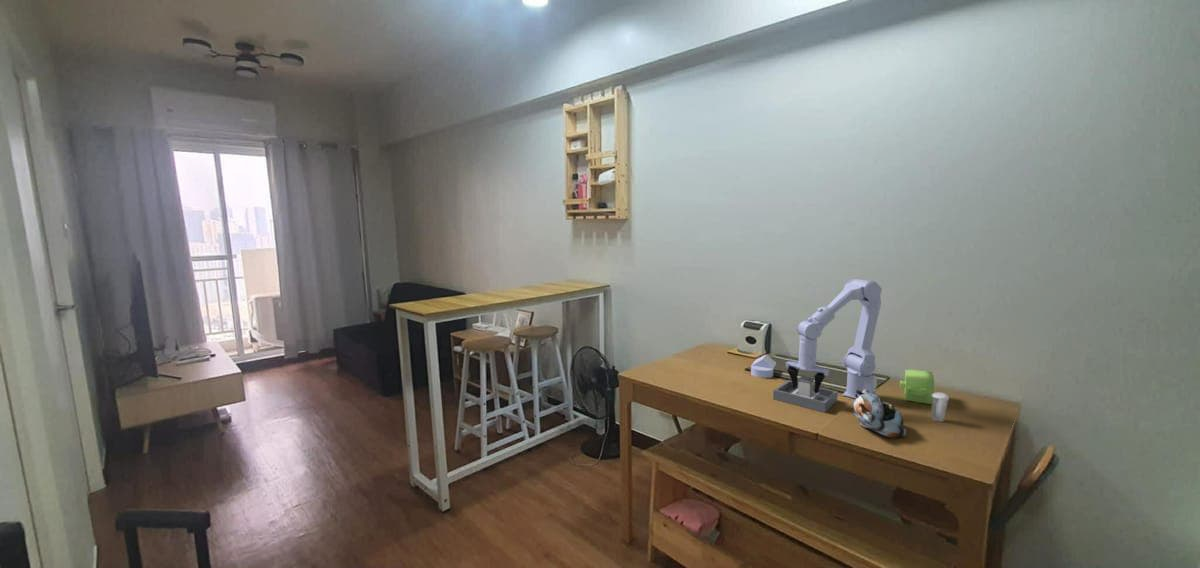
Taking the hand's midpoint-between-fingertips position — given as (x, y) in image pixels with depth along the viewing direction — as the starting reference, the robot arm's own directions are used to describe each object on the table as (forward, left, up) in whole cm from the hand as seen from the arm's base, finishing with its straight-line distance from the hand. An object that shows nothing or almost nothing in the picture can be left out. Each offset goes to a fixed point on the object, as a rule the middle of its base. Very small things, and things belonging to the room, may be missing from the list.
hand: (805, 389), depth 168 cm
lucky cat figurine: (-26, +9, -4) cm, 28 cm away
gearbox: (-29, -30, -4) cm, 42 cm away
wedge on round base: (+24, -18, -4) cm, 30 cm away
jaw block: (0, 0, -3) cm, 3 cm away
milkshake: (-38, -12, -4) cm, 40 cm away
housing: (0, 0, -4) cm, 4 cm away
